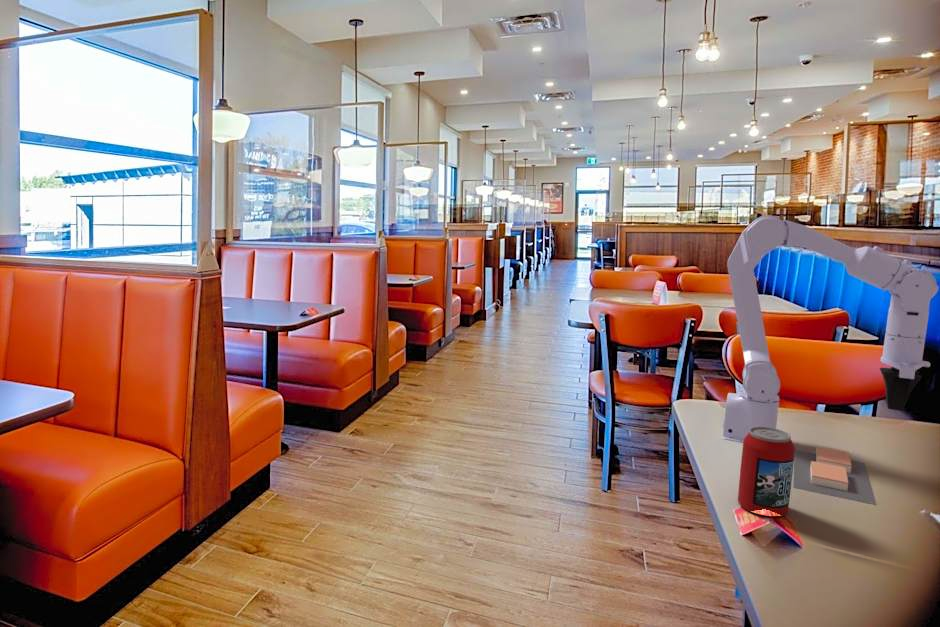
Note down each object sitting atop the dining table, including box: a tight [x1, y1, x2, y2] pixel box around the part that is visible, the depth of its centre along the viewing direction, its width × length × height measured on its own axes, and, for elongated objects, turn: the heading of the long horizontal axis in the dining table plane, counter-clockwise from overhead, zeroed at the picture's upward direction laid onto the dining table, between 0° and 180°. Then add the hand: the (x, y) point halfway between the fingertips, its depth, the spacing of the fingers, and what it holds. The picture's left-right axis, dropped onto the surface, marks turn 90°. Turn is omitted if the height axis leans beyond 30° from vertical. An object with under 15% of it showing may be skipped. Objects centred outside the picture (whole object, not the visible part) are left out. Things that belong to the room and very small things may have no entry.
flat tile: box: [815, 446, 852, 473], centre depth 103 cm, size 5×7×1 cm
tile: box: [810, 461, 848, 491], centre depth 96 cm, size 5×1×7 cm
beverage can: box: [737, 427, 796, 517], centre depth 85 cm, size 7×7×12 cm
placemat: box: [793, 449, 877, 506], centre depth 98 cm, size 11×19×1 cm, turn 150°
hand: (894, 409), depth 104 cm, fingers closed
